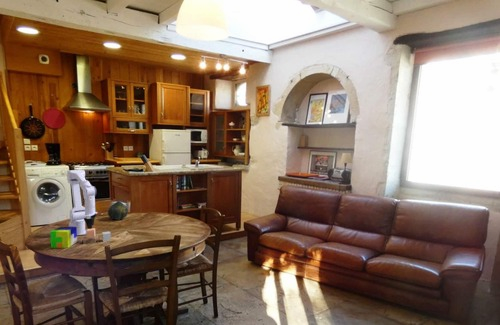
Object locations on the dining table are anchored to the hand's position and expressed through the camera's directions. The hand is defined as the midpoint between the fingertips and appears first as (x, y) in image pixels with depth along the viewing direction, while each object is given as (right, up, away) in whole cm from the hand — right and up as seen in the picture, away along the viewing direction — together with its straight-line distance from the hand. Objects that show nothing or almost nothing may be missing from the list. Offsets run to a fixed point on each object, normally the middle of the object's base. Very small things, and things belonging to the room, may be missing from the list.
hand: (90, 226), depth 189 cm
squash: (-6, -5, +53) cm, 53 cm away
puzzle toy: (-13, -10, -6) cm, 17 cm away
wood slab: (0, -10, +1) cm, 10 cm away
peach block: (0, -7, 0) cm, 7 cm away
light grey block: (+9, -9, +3) cm, 13 cm away
